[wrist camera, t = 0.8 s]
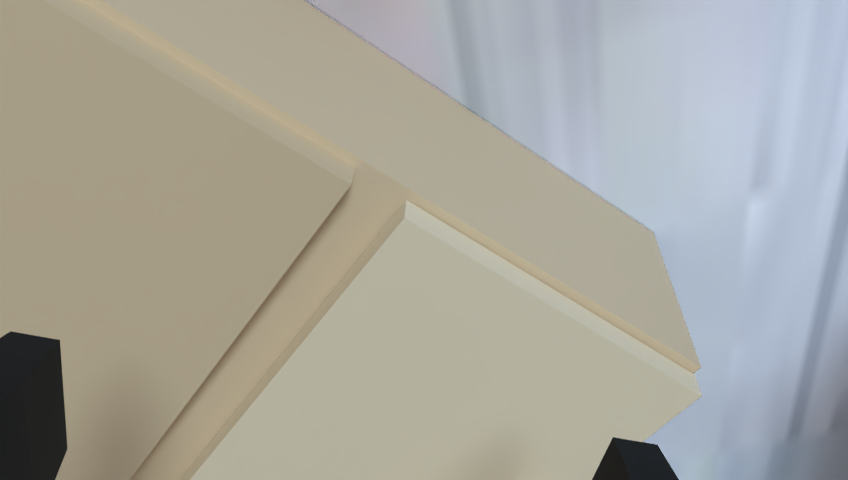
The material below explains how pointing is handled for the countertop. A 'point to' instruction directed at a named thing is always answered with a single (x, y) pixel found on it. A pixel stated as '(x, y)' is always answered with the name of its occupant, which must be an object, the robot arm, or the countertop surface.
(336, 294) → the carton flap
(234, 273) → the carton
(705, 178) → the countertop surface
